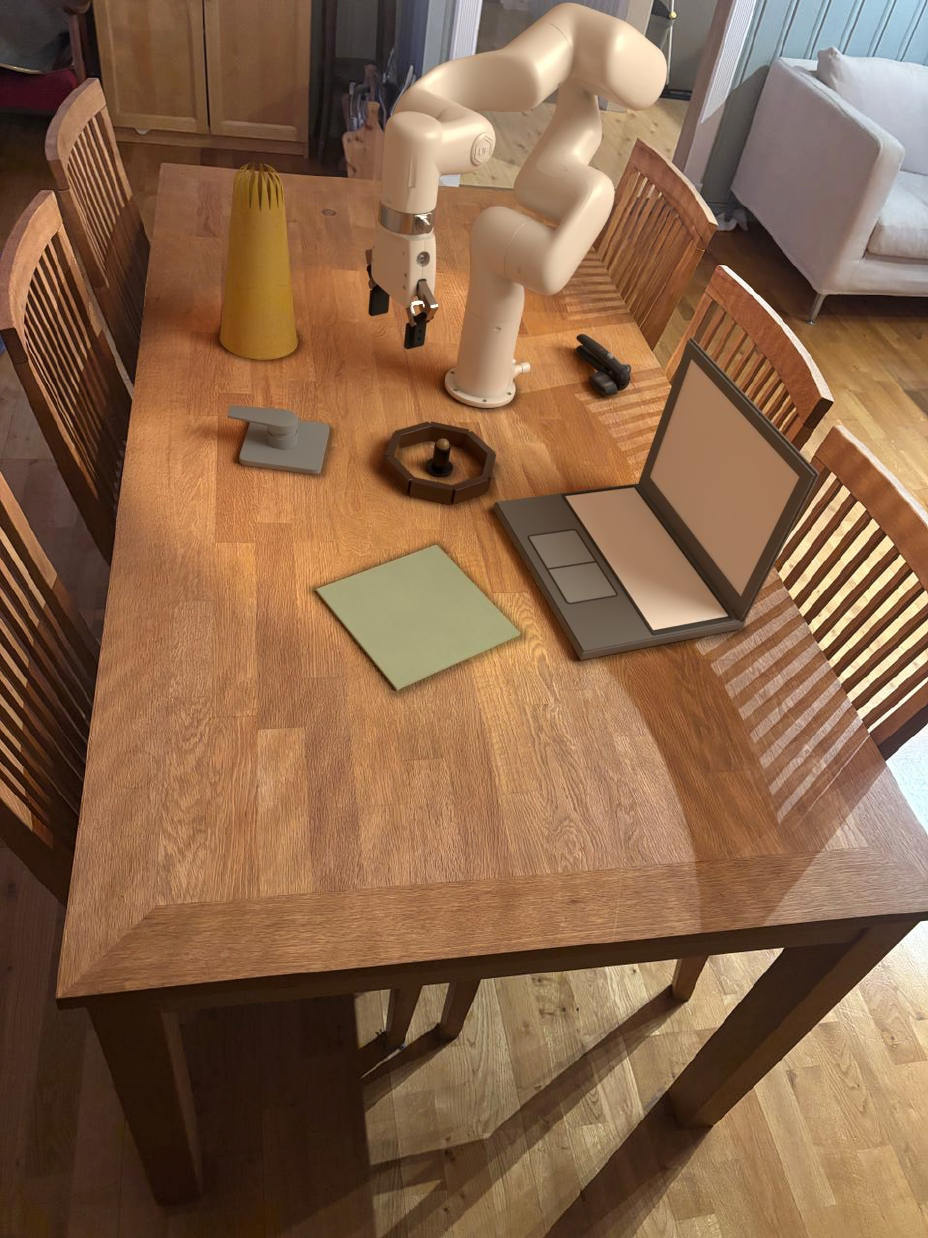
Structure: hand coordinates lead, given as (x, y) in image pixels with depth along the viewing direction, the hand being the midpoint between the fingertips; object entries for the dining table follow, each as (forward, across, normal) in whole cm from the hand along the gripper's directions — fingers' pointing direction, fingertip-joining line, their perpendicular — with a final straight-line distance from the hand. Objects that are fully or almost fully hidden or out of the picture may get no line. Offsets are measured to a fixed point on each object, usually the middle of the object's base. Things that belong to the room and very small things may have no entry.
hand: (395, 329), depth 142 cm
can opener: (+21, +2, -48) cm, 53 cm away
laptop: (+20, -40, -15) cm, 47 cm away
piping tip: (+21, +36, +4) cm, 41 cm away
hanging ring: (+20, -9, -4) cm, 23 cm away
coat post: (+20, -9, -4) cm, 23 cm away
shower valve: (+20, +6, +16) cm, 27 cm away
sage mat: (+20, -35, +16) cm, 43 cm away
